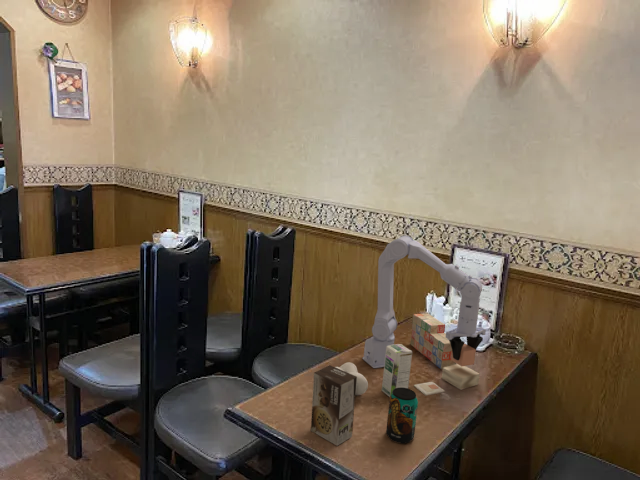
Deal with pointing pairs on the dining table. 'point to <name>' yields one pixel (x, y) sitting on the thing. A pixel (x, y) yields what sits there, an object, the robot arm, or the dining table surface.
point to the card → (429, 388)
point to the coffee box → (333, 404)
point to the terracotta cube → (465, 356)
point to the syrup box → (396, 368)
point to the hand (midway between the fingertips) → (462, 357)
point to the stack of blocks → (431, 340)
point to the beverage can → (402, 415)
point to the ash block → (460, 376)
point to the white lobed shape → (361, 380)
